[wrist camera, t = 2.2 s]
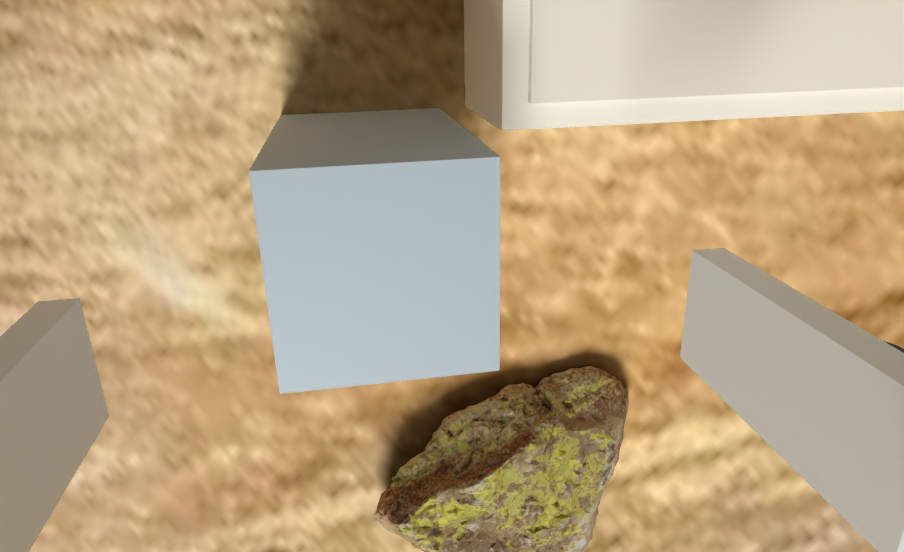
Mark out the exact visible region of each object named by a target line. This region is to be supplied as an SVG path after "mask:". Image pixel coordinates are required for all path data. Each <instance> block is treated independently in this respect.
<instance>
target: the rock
mask: <svg viewBox="0 0 904 552" xmlns="http://www.w3.org/2000/svg"><path fill="white" fill-rule="evenodd" d="M628 401H629V400H628V391H627V390H626V389H625V388H624V386H623V384H622V381H620V380H618V379H617V378H616V376H613V375H610V374H609V373H607V372H606V371H604V370H602V369H599V368H594V367H593V366H586V367H583V368H571V369H568V370H566V371H563V372H559V373H553V374H552V375H551V376H549V377H546V378H542V380H541V381H540V383H539V384H538V386H537V387H536V388H534V387H533V386H531V385H529V384H525V383H521V384H517V385H507V386H506V387H504V388H502V389H501V390H500V391H499V392H498V393H497V394H496V395H495V396H493V397H490V398H488V399H486V400H484V401H482V402H480V403H478V404H476V405H473V406H468V407H466V408H465V409H463V410H459V411H457V412H455V413H453V414H451V415H449V416H447V417H446V418H445V419H444V420H443V421H442V424H441V426H440V427H439V428H438V429H437V430H436V432H434V433H433V436H432V439H431V440H430V441H429V442H428V443H427V445H426V447H425V449H424V451H423V452H422V453H420V454H418V455H417V456H415V457H414V458H412V459H411V460H409V461H408V462H407V463H406V464H405V465H404V466H402V467H400V468H399V470H398V472H397V474H396V475H395V476H393V478H392V481H393V483H392V484H391V485H390V486H389V487H388V489H387V490H386V491H384V492H383V493H382V495H381V497H380V500H379V503H378V506H377V511H376V512H375V514H374V518H375V521H377V522H378V523H379V524H381V525H382V526H383V527H385V528H386V529H387V530H388V531H390V532H392V533H395V534H397V535H399V536H401V537H403V538H404V539H406V540H408V541H409V542H411V543H412V545H413V546H414V547H415V548H418V549H421V550H422V551H424V552H584V550H585V549H586V547H587V545H588V543H589V542H590V540H591V539H592V531H593V528H594V526H595V523H596V518H597V515H598V505H599V503H600V499H601V495H602V492H603V489H604V487H605V486H606V484H607V482H608V481H609V479H610V478H611V476H612V475H613V471H614V467H615V465H616V464H617V462H618V460H619V450H620V446H621V443H622V440H623V431H624V423H625V419H626V414H627V410H628Z"/></svg>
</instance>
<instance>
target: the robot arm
mask: <svg viewBox="0 0 904 552" xmlns="http://www.w3.org/2000/svg"><path fill="white" fill-rule="evenodd" d="M680 358H681V359H682V360H683V361H684V362H685V363H686V364H687V365H688V366H689V367H690V368H691V369H692V370H693V371H694V372H695V373H696V374H697V375H698V376H699V377H701V378H702V379H703V380H704V381H705V382H706V383H707V384H708V385H709V386H710V387H711V388H712V389H713V390H714V391H715V392H716V393H717V394H718V395H719V396H720V397H721V398H722V399H723V400H724V401H725V402H726V403H727V404H728V405H729V406H730V407H731V408H732V409H733V410H734V411H735V412H736V413H737V414H738V415H739V416H740V417H741V418H742V419H743V420H744V421H745V422H746V423H747V424H748V425H749V426H750V427H751V428H753V429H754V430H755V431H756V432H757V433H758V434H759V435H760V436H761V437H762V438H763V439H764V440H765V441H766V442H767V443H768V444H769V445H770V446H771V447H772V448H773V449H774V450H775V451H776V452H777V453H778V454H779V455H780V456H781V457H782V458H783V459H784V460H785V461H786V462H787V463H788V464H789V465H790V466H791V467H792V468H793V469H794V470H795V471H796V472H797V473H798V474H799V475H800V476H801V477H802V478H803V479H805V480H806V481H807V482H808V483H809V484H810V485H811V486H812V487H813V488H814V489H815V490H816V491H817V492H818V493H819V494H820V495H821V496H822V497H823V498H824V499H825V500H826V501H827V502H828V503H829V504H830V505H831V506H832V507H833V508H834V509H835V510H836V511H837V512H838V513H839V514H840V515H841V516H842V517H843V518H844V519H845V520H846V521H847V522H848V523H849V524H850V525H851V526H852V527H853V528H854V529H855V530H857V531H858V532H859V533H860V534H861V535H862V536H863V537H864V538H865V539H866V540H867V541H868V542H869V543H870V544H871V545H872V546H873V547H874V548H875V549H876V550H877V551H878V552H904V349H903V348H901V347H899V346H896V345H894V344H891V343H888V342H885V341H883V340H881V339H879V338H877V337H875V336H874V335H872V334H870V333H869V332H867V331H865V330H863V329H862V328H860V327H858V326H857V325H855V324H853V323H851V322H850V321H848V320H846V319H845V318H843V317H841V316H839V315H838V314H836V313H834V312H833V311H831V310H829V309H827V308H826V307H824V306H822V305H821V304H819V303H817V302H815V301H814V300H812V299H810V298H809V297H807V296H805V295H803V294H802V293H800V292H798V291H797V290H795V289H793V288H791V287H790V286H788V285H786V284H785V283H783V282H781V281H779V280H778V279H776V278H774V277H773V276H771V275H769V274H767V273H766V272H764V271H762V270H761V269H759V268H757V267H755V266H754V265H752V264H750V263H749V262H747V261H745V260H743V259H742V258H740V257H738V256H737V255H735V254H733V253H731V252H730V251H728V250H726V249H725V248H718V249H705V250H693V252H692V260H691V269H690V277H689V286H688V294H687V303H686V311H685V320H684V328H683V337H682V345H681V354H680ZM108 417H109V414H108V410H107V406H106V402H105V398H104V394H103V390H102V386H101V382H100V378H99V374H98V370H97V366H96V362H95V358H94V354H93V350H92V346H91V342H90V338H89V334H88V330H87V326H86V322H85V318H84V314H83V310H82V307H81V303H80V299H66V300H53V301H41V302H37V303H36V304H35V305H34V306H33V307H32V308H31V309H30V310H29V311H28V312H27V313H25V314H24V315H23V316H22V317H21V318H20V319H19V320H18V321H17V322H16V323H15V324H14V325H12V326H11V327H10V328H9V329H8V330H7V331H6V332H5V333H4V334H3V335H2V336H0V552H29V550H30V549H31V547H32V545H33V544H34V542H35V540H36V539H37V537H38V535H39V533H40V532H41V530H42V528H43V527H44V525H45V523H46V522H47V520H48V518H49V517H50V515H51V513H52V511H53V510H54V508H55V506H56V505H57V503H58V501H59V500H60V498H61V496H62V495H63V493H64V491H65V489H66V488H67V486H68V484H69V483H70V481H71V479H72V478H73V476H74V474H75V473H76V471H77V469H78V468H79V466H80V464H81V462H82V461H83V459H84V457H85V456H86V454H87V452H88V451H89V449H90V447H91V446H92V444H93V442H94V440H95V439H96V437H97V435H98V434H99V432H100V430H101V429H102V427H103V425H104V424H105V422H106V420H107V418H108Z"/></svg>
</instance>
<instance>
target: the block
mask: <svg viewBox="0 0 904 552" xmlns="http://www.w3.org/2000/svg"><path fill="white" fill-rule="evenodd" d="M249 175H250V182H251V190H252V197H253V204H254V211H255V218H256V226H257V233H258V240H259V247H260V254H261V262H262V269H263V276H264V283H265V290H266V298H267V305H268V312H269V319H270V327H271V334H272V341H273V348H274V355H275V363H276V370H277V377H278V384H279V391H280V394H283V393H292V392H302V391H311V390H321V389H330V388H339V387H349V386H358V385H368V384H377V383H386V382H396V381H405V380H415V379H424V378H434V377H443V376H452V375H462V374H471V373H481V372H490V371H499V335H500V156H499V155H497V154H496V153H495V152H494V151H492V150H491V149H490V148H489V147H487V146H486V145H485V144H484V143H482V142H481V141H480V140H479V139H478V138H476V137H475V136H474V135H473V134H471V133H470V132H469V131H468V130H466V129H465V128H464V127H463V126H461V125H460V124H459V123H458V122H457V121H455V120H454V119H453V118H452V117H450V116H449V115H448V114H447V113H445V112H444V111H443V110H442V109H440V108H426V109H403V110H381V111H359V112H336V113H314V114H292V115H281V116H280V118H279V119H278V121H277V123H276V125H275V126H274V128H273V130H272V132H271V133H270V135H269V137H268V139H267V140H266V142H265V144H264V146H263V147H262V149H261V151H260V153H259V154H258V156H257V158H256V160H255V161H254V163H253V165H252V167H251V168H250V170H249Z"/></svg>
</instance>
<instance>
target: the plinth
mask: <svg viewBox="0 0 904 552" xmlns="http://www.w3.org/2000/svg"><path fill="white" fill-rule="evenodd" d="M464 53H465V107H466V108H468V109H469V110H471V111H472V112H474V113H476V114H477V115H479V116H480V117H482V118H483V119H485V120H486V121H488V122H490V123H491V124H493V125H494V126H496V127H497V128H499V129H500V130H502V131H503V130H523V129H542V128H562V127H582V126H602V125H622V124H641V123H661V122H681V121H701V120H721V119H740V118H760V117H780V116H800V115H820V114H839V113H859V112H879V111H899V110H904V0H464Z"/></svg>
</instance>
